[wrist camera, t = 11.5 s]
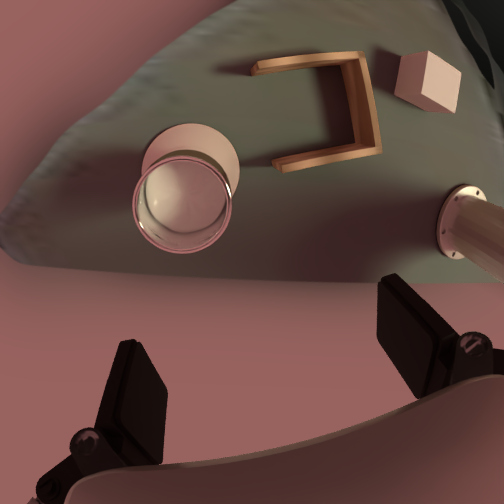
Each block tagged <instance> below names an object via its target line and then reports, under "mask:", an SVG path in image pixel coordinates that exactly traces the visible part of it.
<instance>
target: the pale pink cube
mask: <svg viewBox="0 0 504 504" xmlns="http://www.w3.org/2000/svg"><path fill="white" fill-rule="evenodd" d="M460 79H461V72H459V71H458V70H456V69H455V68H454V67H452V66H451V65H449V64H448V63H446V62H445V61H443V60H442V59H440V58H439V57H437V56H436V55H434V54H433V53H431V52H430V51H424V52H419V53H414V54H410V55H405V56H401V61H400V66H399V72H398V77H397V82H396V87H395V92H394V95H395V96H397V97H399V98H401V99H403V100H405V101H407V102H409V103H411V104H413V105H415V106H417V107H419V108H421V109H423V110H425V111H427V112H441V113H453V114H455V110H456V105H457V99H458V93H459V86H460Z"/></svg>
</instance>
